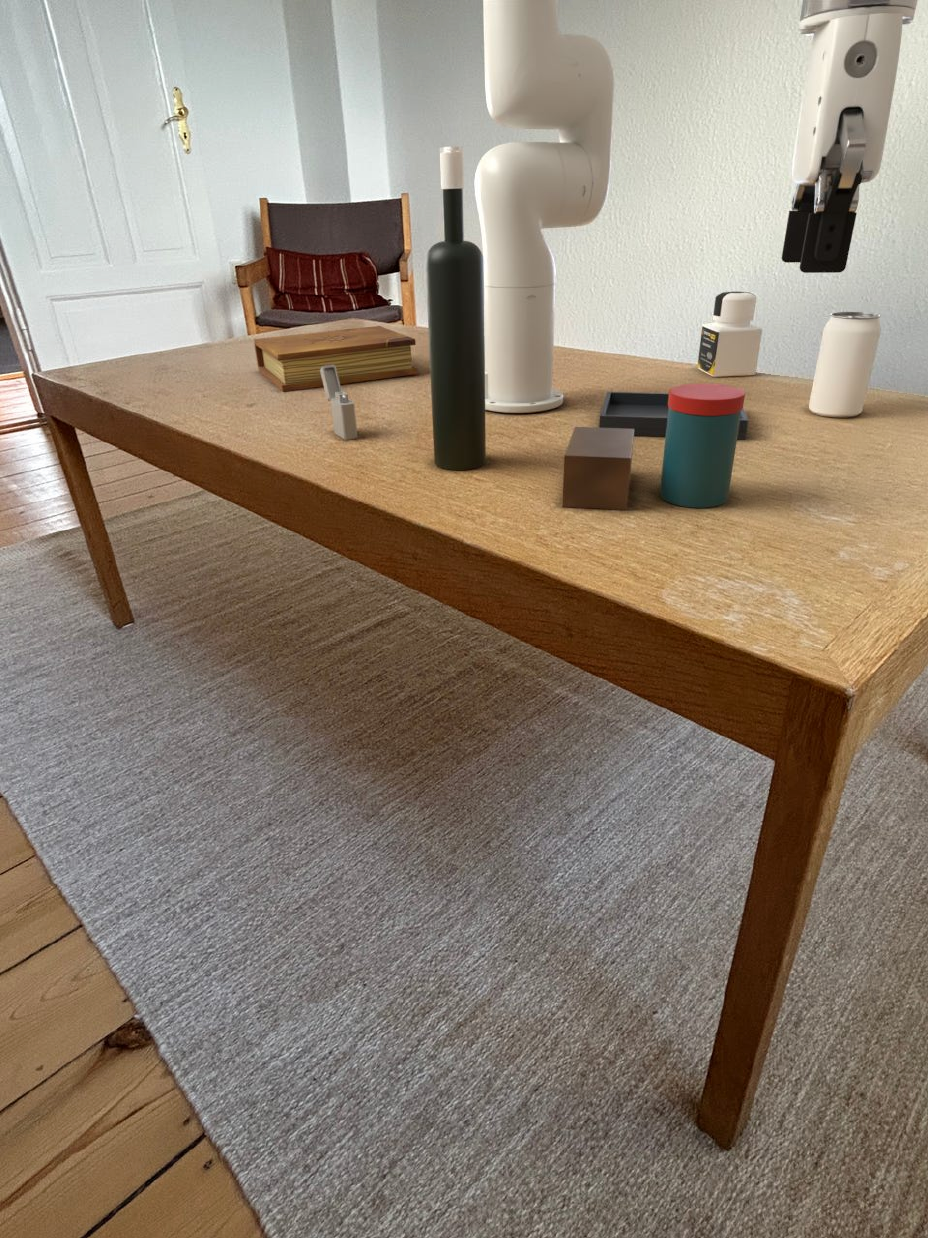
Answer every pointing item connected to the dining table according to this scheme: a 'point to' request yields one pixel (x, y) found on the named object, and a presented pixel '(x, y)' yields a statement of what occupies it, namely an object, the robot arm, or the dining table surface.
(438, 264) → the wine bottle
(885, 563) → the dining table surface
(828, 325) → the can
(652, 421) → the tray
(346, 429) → the lighter
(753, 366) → the medicine bottle
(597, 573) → the dining table surface
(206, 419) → the dining table surface
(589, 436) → the block
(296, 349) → the diary
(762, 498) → the dining table surface
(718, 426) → the container
